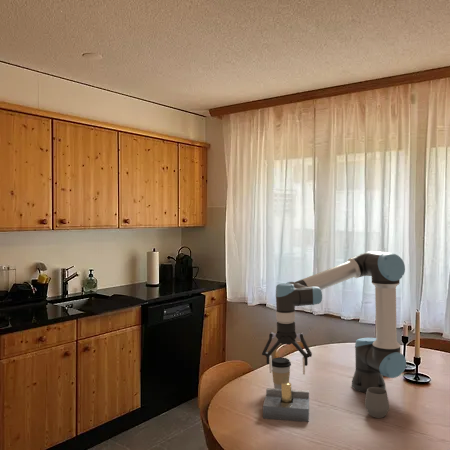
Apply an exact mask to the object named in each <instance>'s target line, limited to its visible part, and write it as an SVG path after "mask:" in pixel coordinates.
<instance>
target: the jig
mask: <svg viewBox="0 0 450 450" xmlns="http://www.w3.org/2000/svg"><path fill="white" fill-rule="evenodd" d="M265 390H266V391H265V398H264V401H263V405H262V419H267V420H268V419H269V420H279V421H280V420H281V421H282V420H283V421H291V422H292V421H293V422H305V423H309V422H310V419H309V418H310V390H303V389H291V400H292V403H282V389H276V388H274V387H266V389H265Z"/></svg>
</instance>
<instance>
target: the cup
mask: <svg viewBox="0 0 450 450" xmlns="http://www.w3.org/2000/svg"><path fill="white" fill-rule="evenodd" d="M388 398H389V397H388V391H387V390H386V389H382V388H378V387H371V388H368V389H367V392H366V394H365V400H364V407H365V410H366V411H367V413H368V415H369V416H370V417H373V418H378V419H381V418H385V417H386V415H387V413H388V411H389V410H390V404H389V403H390V402H389V399H388Z"/></svg>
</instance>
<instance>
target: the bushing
mask: <svg viewBox="0 0 450 450" xmlns="http://www.w3.org/2000/svg"><path fill="white" fill-rule="evenodd" d="M291 390H292V383H291V382H290V381H289V382H283V383H282V403H292V400H291Z"/></svg>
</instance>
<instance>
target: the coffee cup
mask: <svg viewBox="0 0 450 450" xmlns="http://www.w3.org/2000/svg"><path fill="white" fill-rule="evenodd" d="M291 366H292V362H291V361H290V359H289V358H288V357H272V373H271V374H272V382H273V388H276V389H282V383H283V382H289V383H290V374H291Z"/></svg>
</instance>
